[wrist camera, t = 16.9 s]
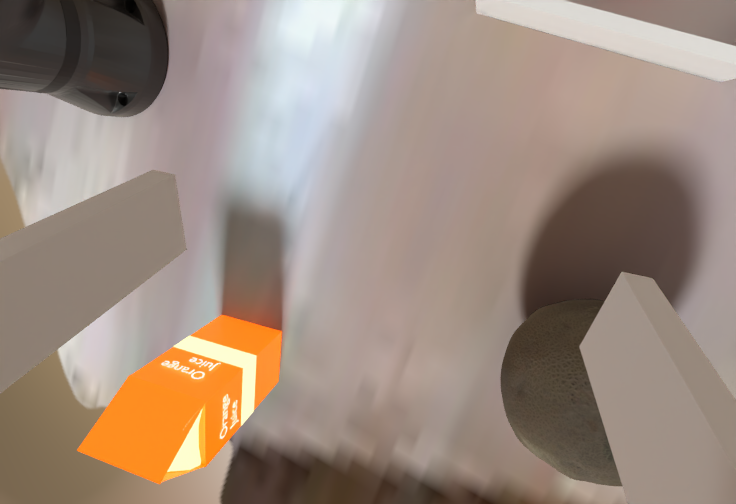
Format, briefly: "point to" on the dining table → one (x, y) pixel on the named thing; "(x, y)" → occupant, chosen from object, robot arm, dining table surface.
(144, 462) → the orange juice
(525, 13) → the tray
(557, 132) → the dining table surface
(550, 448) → the cantaloupe
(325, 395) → the dining table surface
